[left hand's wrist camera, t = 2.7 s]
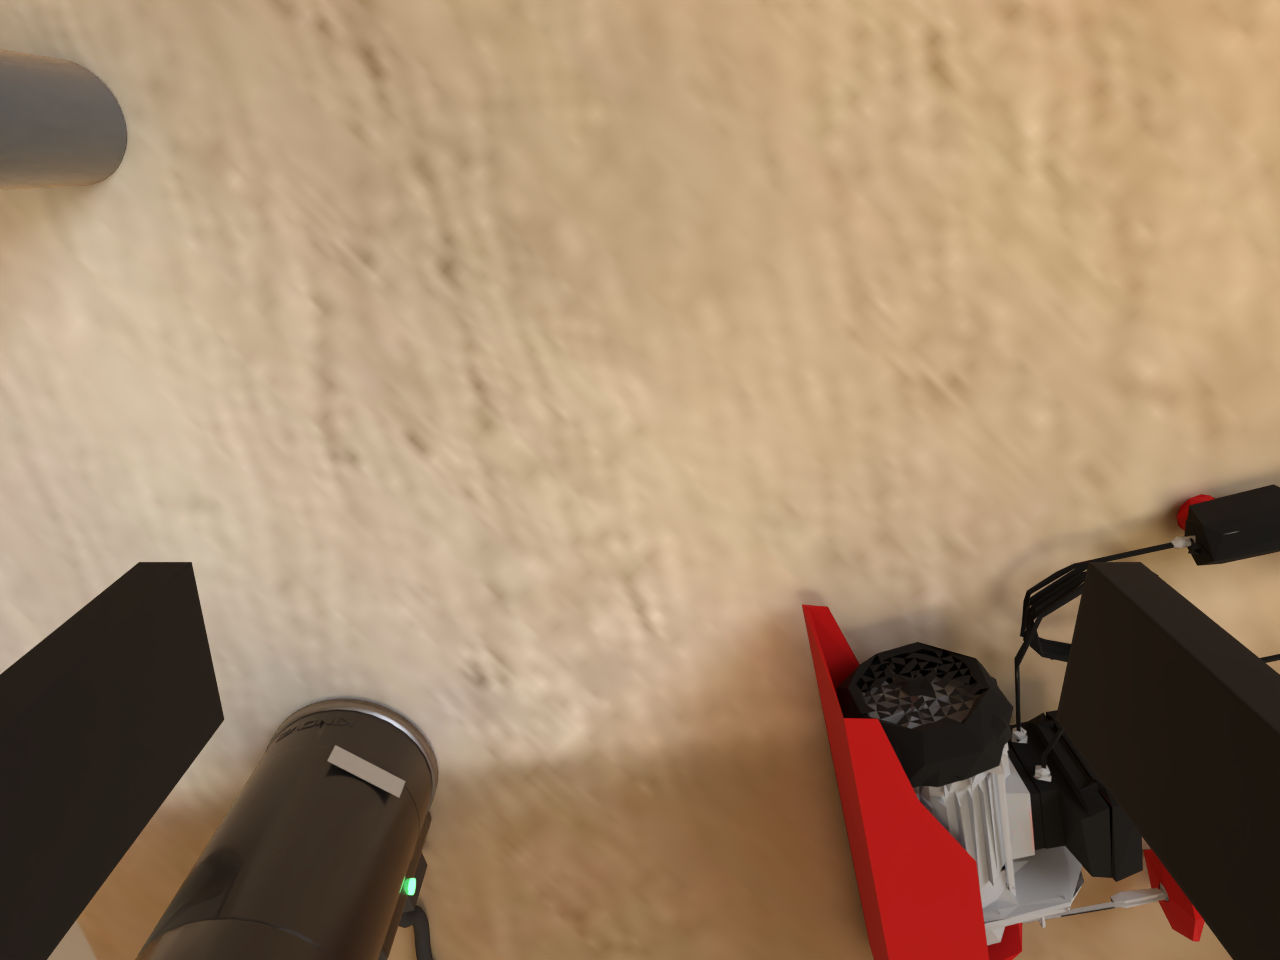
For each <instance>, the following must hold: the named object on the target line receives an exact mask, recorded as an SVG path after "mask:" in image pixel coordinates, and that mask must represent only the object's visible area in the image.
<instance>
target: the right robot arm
mask: <svg viewBox="0 0 1280 960" xmlns="http://www.w3.org/2000/svg"><path fill="white" fill-rule="evenodd" d="M437 782H438V769H437V763H436V759H435V756H434V753H433V751H432V749H431V747H430V745H429V744H428V742H427V740H426V739H425V738H424V736H423V735H422V734H421V733H420V732H419V730H418V729H417V728H416V727H415V726H413V725H412V724H411V723H410V722H409V721H407V720H406V719H405V718H403V717H402V716H400V715H399V714H397V713H395V712H393V711H391V710H390V709H387V708H385V707H383V706H380V705H377V704H374V703H370V702H366V701H360V700H352V699H335V700H327V701H322V702H318V703H314V704H312V705H309V706H307V707H304V708H302V709H300V710H299V711H297V712H295V713H294V714H293V715H291V716H290V717H289V718H288V719H287V720H286V721H285V722H284V723H283V724H282V725H281V726H280V727H279V729H278V730H277V732H276V734H275V735H274V737H273V738H272V740H271V742H270V743H269V745H268V747H267V750H266V753H265V755H264V756H263V758H262V760H261V761H260V763H259V764H258V766H257V767H256V769H255V771H254V772H253V774H252V775H251V777H250V778H249V779H248V781H247V783H246V784H245V786H244V787H243V789H242V790H241V792H240V794H239V795H238V797H237V798H236V800H235V802H234V803H233V805H232V806H231V808H230V810H229V811H228V813H227V814H226V816H225V817H224V819H223V821H222V822H221V824H220V825H219V827H218V829H217V830H216V832H215V833H214V835H213V837H212V838H211V840H210V841H209V843H208V845H207V846H206V848H205V849H204V851H203V852H202V854H201V856H200V857H199V859H198V860H197V862H196V864H195V865H194V867H193V868H192V870H191V872H190V873H189V875H188V876H187V878H186V879H185V881H184V883H183V884H182V886H181V887H180V889H179V891H178V892H177V894H176V895H175V897H174V899H173V900H172V902H171V903H170V905H169V907H168V908H167V910H166V911H165V913H164V914H163V916H162V918H161V919H160V921H159V922H158V924H157V926H156V927H155V929H154V930H153V932H152V934H151V935H150V937H149V938H148V940H147V941H146V943H145V945H144V946H143V948H142V949H141V951H140V953H139V954H138V956H137V958H136V959H135V960H387V959H388V957H389V954H390V950H391V947H392V944H393V941H394V938H395V935H396V931H397V928H398V926H400V927H404V928H406V927H409V926H411V925H413V927H414V934H415V947H416V956H417V960H433V959H432V955H431V948H430V935H429V924H428V920H427V917H426V915H425V913H424V911H423V910H422V908H421V907H419V906H415V905H416V902H417V898H418V895H419V892H420V888H421V885H422V882H423V878H424V875H425V872H426V868H427V863H426V861H425V859H424V856H423V854H422V849H423V846H424V842H425V839H426V836H427V833H428V830H429V826H430V823H431V816H430V814H429V811H428V810H429V809H430V806H431V804H432V801H433V798H434V795H435V791H436V788H437Z"/></svg>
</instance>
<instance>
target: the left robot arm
mask: <svg viewBox="0 0 1280 960" xmlns="http://www.w3.org/2000/svg"><path fill="white" fill-rule="evenodd" d="M223 721H224V716H223V711H222V706H221V701H220V697H219V692H218V687H217V682H216V677H215V673H214V668H213V663H212V658H211V653H210V649H209V644H208V639H207V634H206V629H205V625H204V620H203V615H202V610H201V605H200V600H199V596H198V591H197V586H196V581H195V576H194V572H193V567H192V562H139V563H138V564H136V565H135V566H134V567H133V568H131V569H130V570H129V571H128V572H127V573H125V574H124V575H123V576H122V577H120V578H119V579H118V580H117V581H115V582H114V583H113V584H112V585H110V586H109V587H108V588H107V589H106V590H104V591H103V592H102V593H101V594H99V595H98V596H97V597H96V598H94V599H93V600H92V601H91V602H89V603H88V604H87V605H86V606H85V607H83V608H82V609H81V610H80V611H78V612H77V613H76V614H75V615H73V616H72V617H71V618H70V619H68V620H67V621H66V622H65V623H64V624H62V625H61V626H60V627H59V628H57V629H56V630H55V631H54V632H52V633H51V634H50V635H49V636H47V637H46V638H45V639H44V640H43V641H41V642H40V643H39V644H38V645H36V646H35V647H34V648H33V649H31V650H30V651H29V652H28V653H26V654H25V655H24V656H23V657H22V658H20V659H19V660H18V661H17V662H15V663H14V664H13V665H12V666H10V667H9V668H8V669H7V670H5V671H4V672H3V673H2V674H1V675H0V960H47V959H48V957H49V956H50V955H51V953H52V952H53V951H54V949H55V948H56V947H57V945H58V944H59V942H60V941H61V940H62V938H63V937H64V936H65V934H66V933H67V932H68V930H69V929H70V928H71V926H72V925H73V924H74V922H75V921H76V919H77V918H78V917H79V915H80V914H81V913H82V911H83V910H84V909H85V907H86V906H87V905H88V903H89V902H90V901H91V899H92V898H93V896H94V895H95V894H96V892H97V891H98V890H99V888H100V887H101V886H102V884H103V883H104V882H105V880H106V879H107V878H108V876H109V875H110V873H111V872H112V871H113V869H114V868H115V867H116V865H117V864H118V863H119V861H120V860H121V859H122V857H123V856H124V855H125V853H126V852H127V850H128V849H129V848H130V846H131V845H132V844H133V842H134V841H135V840H136V838H137V837H138V836H139V834H140V833H141V832H142V830H143V829H144V827H145V826H146V825H147V823H148V822H149V821H150V819H151V818H152V817H153V815H154V814H155V813H156V811H157V810H158V809H159V807H160V806H161V804H162V803H163V802H164V800H165V799H166V798H167V796H168V795H169V794H170V792H171V791H172V790H173V788H174V787H175V786H176V784H177V783H178V781H179V780H180V779H181V777H182V776H183V775H184V773H185V772H186V771H187V769H188V768H189V767H190V765H191V764H192V762H193V761H194V760H195V758H196V757H197V756H198V754H199V753H200V752H201V750H202V749H203V748H204V746H205V745H206V744H207V742H208V741H209V739H210V738H211V737H212V735H213V734H214V733H215V731H216V730H217V729H218V727H219V726H220V725H221V723H222V722H223ZM1056 721H1057V722H1058V723H1059V725H1060V726H1061V727H1062V729H1063V730H1064V731H1065V733H1066V734H1067V735H1068V737H1069V738H1070V739H1071V741H1072V742H1073V744H1074V745H1075V746H1076V748H1077V749H1078V750H1079V752H1080V753H1081V754H1082V756H1083V757H1084V758H1085V760H1086V761H1087V762H1088V764H1089V765H1090V767H1091V768H1092V769H1093V771H1094V772H1095V773H1096V775H1097V776H1098V777H1099V779H1100V780H1101V781H1102V783H1103V784H1104V786H1105V787H1106V788H1107V790H1108V791H1109V792H1110V794H1111V795H1112V796H1113V798H1114V799H1115V800H1116V802H1117V803H1118V804H1119V806H1120V807H1121V809H1122V810H1123V811H1124V813H1125V814H1126V815H1127V817H1128V818H1129V819H1130V821H1131V822H1132V823H1133V825H1134V826H1135V827H1136V829H1137V830H1138V832H1139V833H1140V834H1141V836H1142V837H1143V838H1144V840H1145V841H1146V842H1147V844H1148V845H1149V846H1150V848H1151V849H1152V850H1153V852H1154V853H1155V855H1156V856H1157V857H1158V859H1159V860H1160V861H1161V863H1162V864H1163V865H1164V867H1165V868H1166V869H1167V871H1168V872H1169V873H1170V875H1171V876H1172V878H1173V879H1174V880H1175V882H1176V883H1177V884H1178V886H1179V887H1180V888H1181V890H1182V891H1183V892H1184V894H1185V895H1186V896H1187V898H1188V899H1189V901H1190V902H1191V903H1192V905H1193V906H1194V907H1195V909H1196V910H1197V911H1198V913H1199V914H1200V915H1201V917H1202V918H1203V919H1204V921H1205V922H1206V924H1207V925H1208V926H1209V928H1210V929H1211V930H1212V932H1213V933H1214V934H1215V936H1216V937H1217V938H1218V940H1219V941H1220V942H1221V944H1222V945H1223V947H1224V948H1225V949H1226V951H1227V952H1228V953H1229V955H1230V956H1231V957H1232V959H1233V960H1280V675H1279V674H1278V673H1277V672H1276V671H1275V670H1273V669H1272V668H1271V667H1270V666H1268V665H1267V664H1266V663H1265V662H1263V661H1262V660H1261V659H1260V658H1258V657H1257V656H1256V655H1255V654H1254V653H1252V652H1251V651H1250V650H1249V649H1247V648H1246V647H1245V646H1244V645H1242V644H1241V643H1240V642H1239V641H1237V640H1236V639H1235V638H1234V637H1233V636H1231V635H1230V634H1229V633H1228V632H1226V631H1225V630H1224V629H1223V628H1221V627H1220V626H1219V625H1218V624H1216V623H1215V622H1214V621H1213V620H1212V619H1210V618H1209V617H1208V616H1207V615H1205V614H1204V613H1203V612H1202V611H1200V610H1199V609H1198V608H1197V607H1195V606H1194V605H1193V604H1192V603H1191V602H1189V601H1188V600H1187V599H1186V598H1184V597H1183V596H1182V595H1181V594H1179V593H1178V592H1177V591H1176V590H1174V589H1173V588H1172V587H1171V586H1170V585H1168V584H1167V583H1166V582H1165V581H1163V580H1162V579H1161V578H1160V577H1158V576H1157V575H1156V574H1155V573H1153V572H1152V571H1151V570H1150V569H1149V568H1147V567H1146V566H1145V565H1144V564H1142V563H1141V562H1088V567H1087V572H1086V576H1085V581H1084V586H1083V591H1082V596H1081V600H1080V605H1079V610H1078V615H1077V620H1076V625H1075V629H1074V634H1073V639H1072V644H1071V649H1070V653H1069V658H1068V663H1067V668H1066V673H1065V677H1064V682H1063V687H1062V692H1061V697H1060V701H1059V706H1058V711H1057V716H1056Z"/></svg>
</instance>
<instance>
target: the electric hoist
mask: <svg viewBox="0 0 1280 960" xmlns="http://www.w3.org/2000/svg"><path fill="white" fill-rule="evenodd" d="M1177 521H1178V526H1179V527H1180V528H1182V529H1183V530H1184V531H1185V536H1184V537H1175V538H1174V539H1173V540H1172V541H1171V543H1166V544H1162V545H1157V546H1153V547H1148V548H1143V549H1139V550H1134V551H1130V552H1125V553H1120V554H1116V555H1111V556H1107V557H1102V558H1097V559H1093V560H1088V561H1084V562H1079V563H1074V564H1072V565H1070V566H1068V567H1066V568H1064V569H1061V570H1059V571H1057V572H1055V573H1054V574H1052V575H1051V576H1049V577H1048V578H1046V579H1044V580H1043V581H1041V582H1040V583H1038V584H1037V585H1035V586H1034V587H1032V588H1031V589H1029V590H1027V592H1026V595H1025V598H1024V603H1023V616H1022V626H1021V633H1020V636H1021V637H1024V638H1023V641H1024V642H1023V644H1022V646H1021V648H1020V650H1019V651H1018V653H1017V655H1016V657H1015V693H1016V724H1015V725H1011V726H1009V723H1010V719H1011V715H1012V710H1013V707H1012V705H1011V704H1010V703H1009V701H1008V700H1007V698H1006V697H1005V696H1004V694H1003V693H1002V692H1001V690H1000V689H999V687H998V686H997V682H996V679H994V678H993V677H991V676H990V675H989V674H988V672H987V671H986V669H985V668H984V667H983V665H982V664H981V663H980V662H979V661H978V660H977V659H976V658H972V657H969V656H965V655H962V654H958V653H955V652H951V651H947V650H944V649H940V648H937V647H933V646H930V645H926V644H922V643H919V642H916V643H913V644H909V645H906V646H902V647H899V648H895V649H892V650H888V651H885V652H881V653H878V654H876V655H874V656H873V657H871V658H870V659H868V660H867V661H865V662H864V663H862V664H861V665H859V663H858V661H857V659H856V657H855V655H854V654H853V652H852V650H851V648H850V646H849V645H848V643H847V641H846V639H845V637H844V635H843V634H842V632H841V630H840V628H839V626H838V625H837V623H836V621H835V619H834V617H833V615H832V614H831V612H830V610H829V608H828V607H824V606H813V605H802V608H803V613H804V618H805V623H806V628H807V633H808V638H809V643H810V648H811V653H812V658H813V663H814V668H815V673H816V678H817V683H818V688H819V693H820V698H821V703H822V708H823V713H824V718H825V723H826V728H827V733H828V738H829V743H830V748H831V753H832V758H833V763H834V768H835V773H836V778H837V783H838V788H839V793H840V798H841V803H842V808H843V813H844V818H845V823H846V828H847V833H848V838H849V843H850V848H851V853H852V858H853V863H854V868H855V873H856V878H857V883H858V888H859V893H860V898H861V903H862V908H863V913H864V918H865V923H866V928H867V933H868V938H869V943H870V947H871V951H872V954H873V957H874V960H1013V959H1014V958H1015V957H1016V956H1017V955H1018V954H1019V953H1020V952H1022V923H1027V922H1033V921H1039V922H1040V924H1041V926H1042V928H1044V927H1045V919H1051V918H1057V917H1063V916H1069V915H1075V914H1081V913H1088V912H1094V911H1100V910H1106V909H1112V908H1118V907H1122V908H1130V907H1134V906H1139V905H1143V904H1148V903H1152V902H1157V901H1159V903H1160V905H1161V907H1162V909H1163V911H1164V913H1165V915H1166V917H1167V919H1168V921H1169V923H1170V925H1171V927H1172V929H1174V930H1175V931H1177V932H1179V933H1180V934H1182V935H1184V936H1185V937H1187V938H1189V939H1190V940H1192V941H1198V942H1199V940H1200V937H1201V933H1202V929H1203V925H1204V922H1205V921H1204V919H1203V918H1202V917H1201V915H1200V914H1199V913H1198V911H1197V910H1196V909H1195V907H1194V906H1193V905H1192V903H1191V902H1190V901H1189V899H1188V898H1187V896H1186V895H1185V894H1184V892H1183V891H1182V890H1181V888H1180V887H1179V886H1178V884H1177V883H1176V882H1175V880H1174V879H1173V878H1172V876H1171V875H1170V873H1169V872H1168V871H1167V869H1166V868H1165V867H1164V865H1163V864H1162V863H1161V861H1160V860H1159V859H1158V857H1157V856H1156V855H1155V853H1154V852H1153V850H1152V849H1149V850H1143V851H1144V855H1145V860H1146V865H1147V869H1148V874H1149V879H1150V883H1151V889H1142V890H1132V891H1123V892H1119V893H1117V894H1115V895H1113V896H1111V902H1108V903H1103V904H1097V905H1092V906H1086V907H1081V908H1076V909H1070V907H1071V903H1072V902H1073V900H1074V898H1075V897H1076V895H1077V893H1078V892H1079V890H1080V888H1081V886H1082V885H1083V883H1084V880H1083V876H1082V873H1081V868H1082V866H1083V867H1084V868H1085V869H1086V870H1087V871H1088V872H1089V874H1090V875H1091V876H1092V877H1107V878H1113V879H1114V880H1115V881H1116V882H1117V881H1119V880H1122V879H1124V878H1126V877H1128V876H1131V875H1133V874H1135V873H1137V872H1140V871H1142V870H1143V866H1142V836H1141V834H1140V833H1139V832H1138V830H1137V829H1136V827H1135V826H1134V825H1133V823H1132V822H1131V821H1130V819H1129V818H1128V817H1127V815H1126V814H1125V813H1124V811H1123V810H1122V809H1121V807H1120V806H1119V804H1118V803H1117V802H1116V800H1115V799H1114V798H1113V796H1112V795H1111V794H1110V792H1109V791H1108V790H1107V788H1106V787H1105V786H1104V784H1103V783H1102V781H1101V780H1100V779H1099V777H1098V776H1097V775H1096V773H1095V772H1094V771H1093V769H1092V768H1091V767H1090V765H1089V764H1088V762H1087V761H1086V760H1085V758H1084V757H1083V756H1082V754H1081V753H1080V752H1079V750H1078V749H1077V748H1076V746H1075V745H1074V744H1073V742H1072V741H1071V739H1070V738H1069V737H1068V735H1067V734H1066V733H1065V731H1064V730H1063V729H1062V727H1061V726H1060V725H1059V723H1058V722H1057V721H1056V716H1057V711H1058V710H1056V711H1050V712H1046V716H1045V714H1044V713H1042V714H1041V715H1039V716H1037V717H1035V718H1033V719H1032V720H1030V721H1028V722H1024V723H1021V720H1020V678H1019V665H1020V663H1021V661H1022V659H1023V657H1024V655H1025V653H1026V651H1027V649H1028V647H1029V645H1030V647H1031V648H1033V649H1034V650H1035V651H1036V652H1037V653H1038V654H1039V655H1040V656H1042V657H1045V658H1050V659H1051V660H1054V659H1055V660H1060V661H1065V662H1068V658H1069V653H1070V649H1071V644H1068V643H1062V642H1057V641H1051V640H1046V639H1043V638H1040V637H1038V634H1037V628H1038V626H1039V624H1040V622H1041V620H1042V618H1043V617H1045V616H1047V615H1048V614H1050V613H1051V612H1053V611H1055V610H1056V609H1058V608H1060V607H1061V606H1063V605H1064V604H1066V603H1068V602H1069V601H1071V600H1073V599H1074V598H1076V597H1077V596H1079V595H1081V594H1082V591H1083V586H1084V583H1083V582H1084V581H1085V576H1086V572H1087V571H1085V572H1083V571H1084V570H1086V569H1087V567H1088V562H1108V561H1113V560H1117V559H1122V558H1127V557H1131V556H1136V555H1141V554H1145V553H1150V552H1155V551H1160V550H1164V549H1169V548H1176V549H1180V548H1184V547H1187V548H1188V549H1189V552H1188V553H1191V555H1192V557H1193V558H1194V560H1195V562H1196V564H1197V566H1198V565H1210V564H1222V563H1227V562H1232V561H1236V560H1241V559H1246V558H1251V557H1255V556H1260V555H1265V554H1270V553H1274V552H1279V551H1280V487H1278V486H1276V485H1270V486H1266V487H1261V488H1257V489H1253V490H1249V491H1245V492H1241V493H1237V494H1233V495H1229V496H1225V497H1221V498H1217V499H1215V498H1213V497H1212V496H1210V495H1202V494H1201V495H1198V496H1195V497H1193V498H1190V499H1189V500H1187V501H1186V502H1185V503H1184V504H1183V505H1181V507H1180V510H1179V512H1178V515H1177ZM1073 569H1074V570H1073ZM1071 570H1072V571H1071ZM1069 571H1071V572H1069ZM1068 572H1069V573H1068ZM1066 573H1068V574H1066ZM1153 573H1154V572H1153ZM1064 574H1066V575H1064ZM1063 575H1064V576H1063ZM1156 575H1157V574H1156ZM1061 576H1063V577H1061ZM1157 576H1158V575H1157ZM1059 577H1061V578H1060V579H1058V580H1057V581H1055V582H1053V583H1052V584H1050V585H1049V586H1047V587H1046V588H1044V589H1043V590H1041V591H1039V592H1038V593H1036V594H1035V595H1033V596H1032V597H1030V595H1031V594H1032V593H1034V592H1035V591H1037V590H1039V589H1040V588H1042V587H1044V586H1046V585H1047V584H1049V583H1051V582H1052V581H1054V580H1056V579H1057V578H1059ZM1080 584H1081V585H1080ZM1079 585H1080V586H1079ZM1076 587H1077V588H1076ZM1029 600H1030V601H1029ZM1031 605H1032V606H1031ZM1030 606H1031V607H1030ZM1035 618H1037V619H1036V621H1035V623H1034V619H1035ZM1025 625H1026V626H1025ZM1025 630H1026V631H1025ZM1024 631H1025V632H1024ZM1260 659H1261V660H1262V661H1263V662H1265V663H1267V662H1272V661H1277V660H1280V654H1277V655H1273V656H1268V657H1263V658H1260ZM1066 909H1067V910H1066Z"/></svg>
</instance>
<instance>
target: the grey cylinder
mask: <svg viewBox="0 0 1280 960" xmlns="http://www.w3.org/2000/svg"><path fill="white" fill-rule="evenodd" d="M126 141H127V133H126V125H125V120H124V117H123V114H122V111H121V108H120V106H119V104H118V102H117V100H116V99H115V97H114V96H113V94H112V93H111V91H110V90H109V89H108V87H107V86H106V85H105V84H104V83H103V82H102V81H101V80H100V79H99V78H98V77H97V76H95V75H94V74H93V73H92V72H90V71H89V70H87V69H85V68H84V67H82V66H80V65H78V64H75V63H72V62H70V61H65V60H61V59H55V58H49V57H43V56H37V55H31V54H25V53H19V52H13V51H7V50H1V49H0V190H3V189H22V188H42V187H62V186H81V185H90V184H95V183H97V182H100V181H102V180H104V179H106V178H107V177H108V176H110V175H111V174H112V173H113V172H114V171H115V170H116V169H117V167H118V166H119V164H120V162H121V160H122V158H123V156H124V152H125V149H126Z"/></svg>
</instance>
